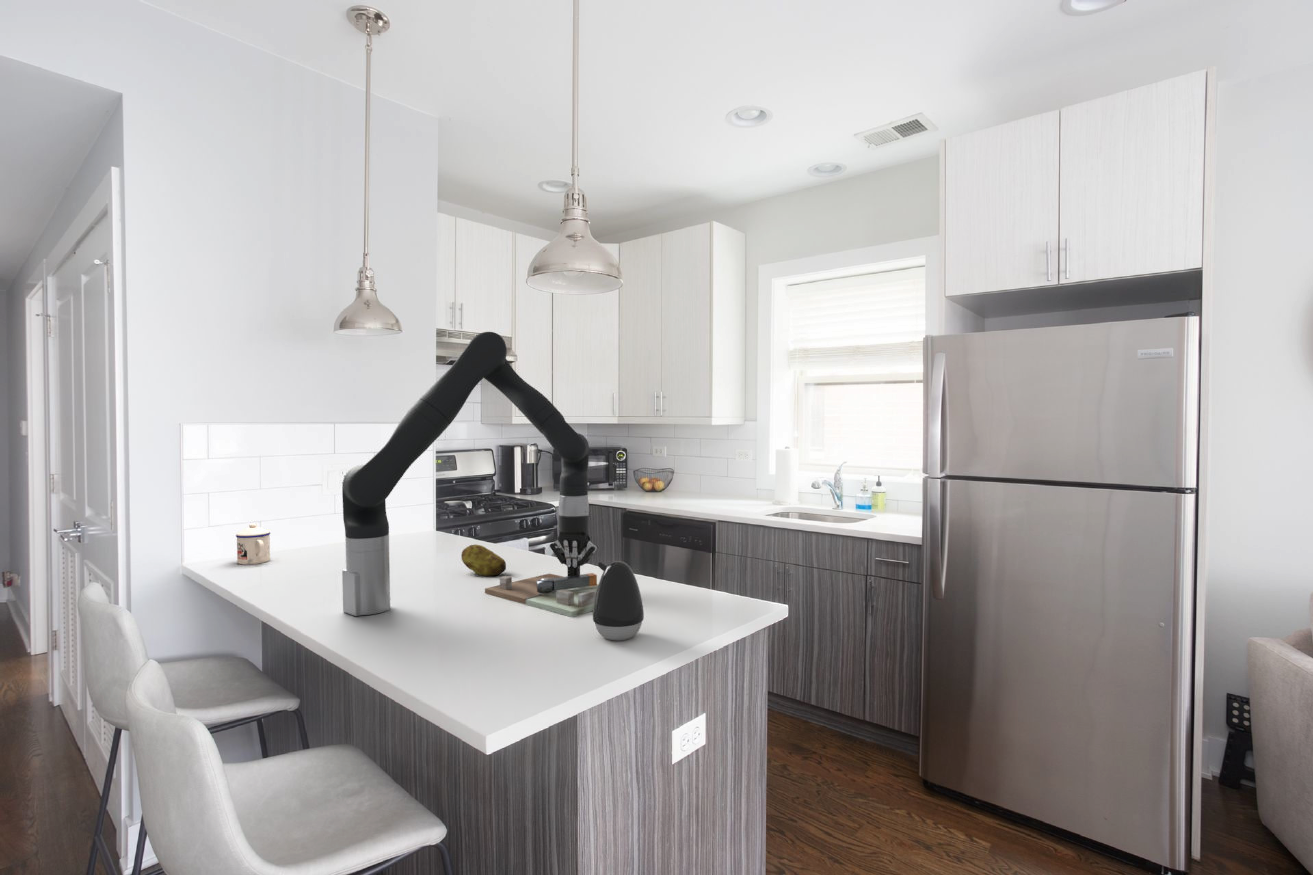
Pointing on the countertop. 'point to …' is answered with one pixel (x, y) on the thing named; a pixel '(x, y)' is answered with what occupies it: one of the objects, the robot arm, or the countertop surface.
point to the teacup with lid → (253, 545)
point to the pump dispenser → (617, 602)
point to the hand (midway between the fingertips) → (573, 581)
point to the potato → (483, 561)
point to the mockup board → (546, 595)
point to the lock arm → (566, 582)
